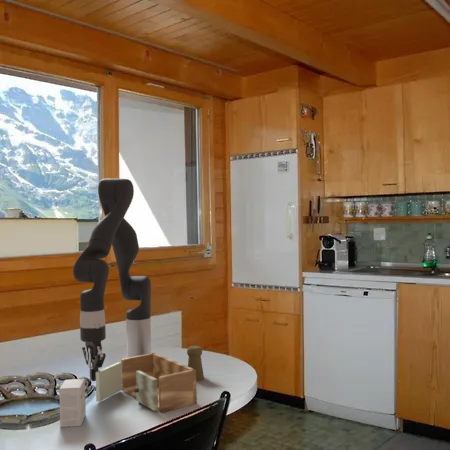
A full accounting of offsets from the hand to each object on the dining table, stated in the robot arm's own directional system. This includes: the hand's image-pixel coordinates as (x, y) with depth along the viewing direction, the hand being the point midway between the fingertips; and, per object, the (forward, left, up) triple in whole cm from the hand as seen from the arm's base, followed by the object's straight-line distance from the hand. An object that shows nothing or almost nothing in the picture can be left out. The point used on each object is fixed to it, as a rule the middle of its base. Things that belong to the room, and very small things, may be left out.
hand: (94, 380), depth 163 cm
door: (0, +4, -5) cm, 7 cm away
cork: (+2, +35, -6) cm, 36 cm away
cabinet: (+10, +15, -6) cm, 19 cm away
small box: (+13, -12, -6) cm, 18 cm away
